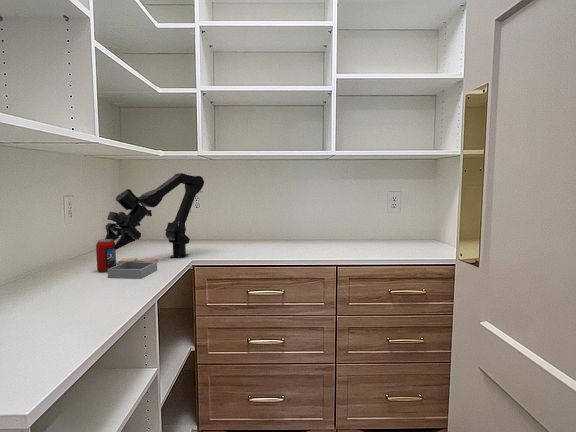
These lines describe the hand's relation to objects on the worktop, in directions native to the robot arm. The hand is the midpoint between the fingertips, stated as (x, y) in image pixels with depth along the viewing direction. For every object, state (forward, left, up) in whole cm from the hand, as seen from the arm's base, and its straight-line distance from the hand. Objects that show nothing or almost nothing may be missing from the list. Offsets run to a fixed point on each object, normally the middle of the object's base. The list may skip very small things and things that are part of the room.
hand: (108, 247), depth 144 cm
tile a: (-13, 0, -9) cm, 16 cm away
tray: (+5, +12, -9) cm, 16 cm away
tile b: (-14, +8, -9) cm, 19 cm away
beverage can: (+1, -1, -9) cm, 9 cm away
